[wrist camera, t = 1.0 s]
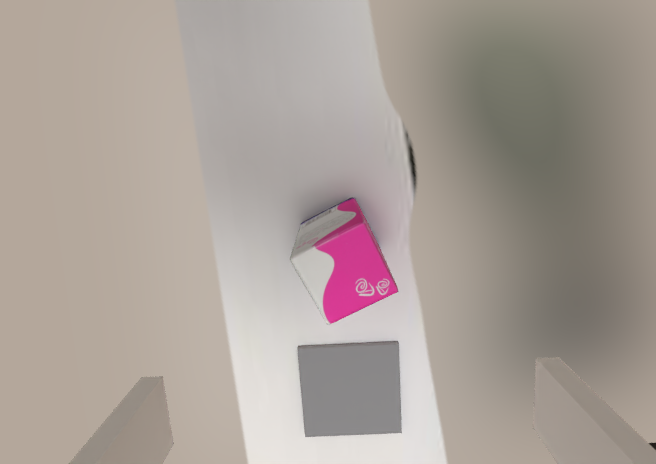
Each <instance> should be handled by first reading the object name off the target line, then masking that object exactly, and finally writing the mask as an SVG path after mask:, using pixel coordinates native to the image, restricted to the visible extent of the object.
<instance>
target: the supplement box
mask: <svg viewBox="0 0 656 464" xmlns="http://www.w3.org/2000/svg"><path fill="white" fill-rule="evenodd" d="M290 261H291V263H292V264H293V266H294V268H295V270H296V271H297V273H298V275H299V277H300V278H301V280H302V282H303V284H304V285H305V287H306V289H307V290H308V292H309V294H310V295H311V297H312V299H313V301H314V302H315V304H316V306H317V307H318V309H319V311H320V312H321V314H322V316H323V318H324V320H325V321H326V323H327V325H330V324H331V323H334V322H336V321H338V320H340V319H342V318H344V317H346V316H348V315H350V314H352V313H354V312H357V311H359V310H361V309H363V308H365V307H367V306H369V305H371V304H373V303H375V302H377V301H379V300H382V299H384V298H386V297H388V296H390V295H392V294H394V293H396V292H398V289H397V286H396V283H395V281H394V279H393V277H392V274H391V272H390V270H389V267H388V265H387V263H386V261H385V259H384V256H383V254H382V252H381V249H380V247H379V245H378V243H377V241H376V239H375V237H374V235H373V233H372V231H371V229H370V227H369V225H368V223H367V221H366V219H365V217H364V215H363V213H362V211H361V209H360V207H359V205H358V203H357V201H356V199H355V198H351V199H348V200H346V201H344V202H342V203H340V204H338V205H336V206H334V207H332V208H330V209H328V210H326V211H324V212H322V213H320V214H318V215H316V216H314V217H312V218H311V219H309V220H307V221H305V222H303V223H301V226H300V229H299V232H298V235H297V239H296V242H295V245H294V248H293V251H292V254H291V257H290Z"/></svg>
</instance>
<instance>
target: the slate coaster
mask: <svg viewBox="0 0 656 464" xmlns="http://www.w3.org/2000/svg"><path fill="white" fill-rule="evenodd" d="M298 359H299V370H300V382H301V393H302V404H303V416H304V427H305V437H316V436H340V435H364V434H387V433H402V431H401V400H400V370H399V344H398V341H393V342H373V343H353V344H332V345H312V346H298Z"/></svg>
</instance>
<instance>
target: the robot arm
mask: <svg viewBox="0 0 656 464" xmlns="http://www.w3.org/2000/svg"><path fill="white" fill-rule="evenodd" d="M534 396H535V397H534V420H533V421H534V422H533V429H534V430H535V432H536V433H537V434H538V436H539V438H540V439H541V440H542V442H543V443H544V445H545V446H546V448H547V449H548V451H549V452H550V453H551V455H552V456H553V458H554V459H555V461H556V462H557V464H656V443H647V441H645V440H644V439H643V438H642V437H641V436H640V435H639V434H638V433H637V432H636V431H635V430H634V429H633V428H632V427H631V426H630V425H629V424H628V423H627V422H626V421H624V419H623V418H622V417H620V416H619V415H618V414H617V413H616V412H615V411H614V410H613V409H612V408H611V407H610V406H609V405H608V404H607V403H606V402H605V401H604V400H603V399H602V398H601V397H600V396H599V395H597V394H596V393H595V392H594V391H593V390H592V389H591V388H590V387H589V386H588V385H587V384H586V383H585V382H584V381H583V380H582V379H581V378H579V376H578V375H577V374H576V373H574V372H573V371H572V370H571V369H570V368H569V367H568V366H567V365H566V364H565V363H564V362H563V361H562V360H561V359H560V358H559V357H551V358H536V370H535V395H534ZM173 444H174V443H173V437H172V431H171V425H170V418H169V412H168V406H167V400H166V395H165V387H164V381H163V377H162V376H159V377H142V378H141V379H140V380H139V381H138V382H137V383H136V385H135V386H134V387H133V388H132V390H131V391H130V392H129V393H128V394H127V395H126V396H125V398H124V399H123V400H122V401H121V402H120V404H119V405H118V406H117V407H116V408H115V409H114V411H113V412H112V413H111V414H110V416H109V417H108V418H107V419H106V420H105V421H104V423H103V424H102V425H101V426H100V427H99V428H98V430H97V431H96V432H95V433H94V435H93V436H92V437H91V438H90V439H89V440H88V442H87V443H86V444H85V445H84V446H83V448H82V449H81V450H80V451H79V452H78V453H77V454H76V456H75V457H74V458H73V459H72V460H71V462H70V463H69V464H163V462H164V460H165V459H166V457H167V455H168V453H169V451H170V449H171V448H172V446H173Z"/></svg>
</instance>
